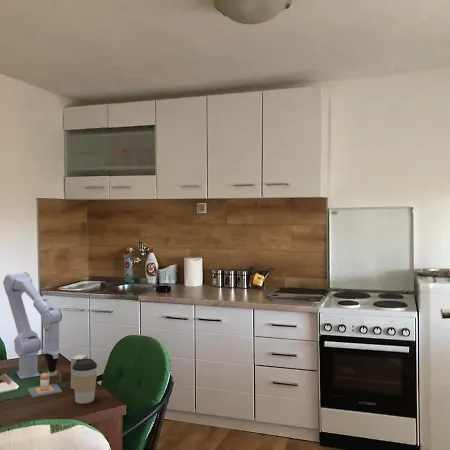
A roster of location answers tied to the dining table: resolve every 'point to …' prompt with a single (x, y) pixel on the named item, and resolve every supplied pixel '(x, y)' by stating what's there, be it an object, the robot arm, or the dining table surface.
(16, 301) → the robot arm
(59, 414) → the dining table surface
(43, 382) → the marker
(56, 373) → the button
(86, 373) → the coffee cup
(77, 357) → the skincare box
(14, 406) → the dining table surface
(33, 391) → the grey square plate
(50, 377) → the button housing
